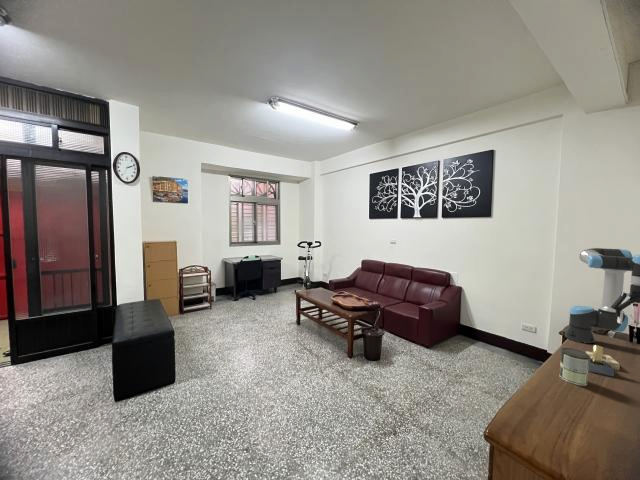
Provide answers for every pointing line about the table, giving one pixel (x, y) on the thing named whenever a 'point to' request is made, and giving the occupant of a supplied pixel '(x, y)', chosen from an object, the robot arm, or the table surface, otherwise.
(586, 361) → the coffee can
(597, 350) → the peg
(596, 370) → the socket
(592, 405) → the table surface
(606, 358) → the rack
